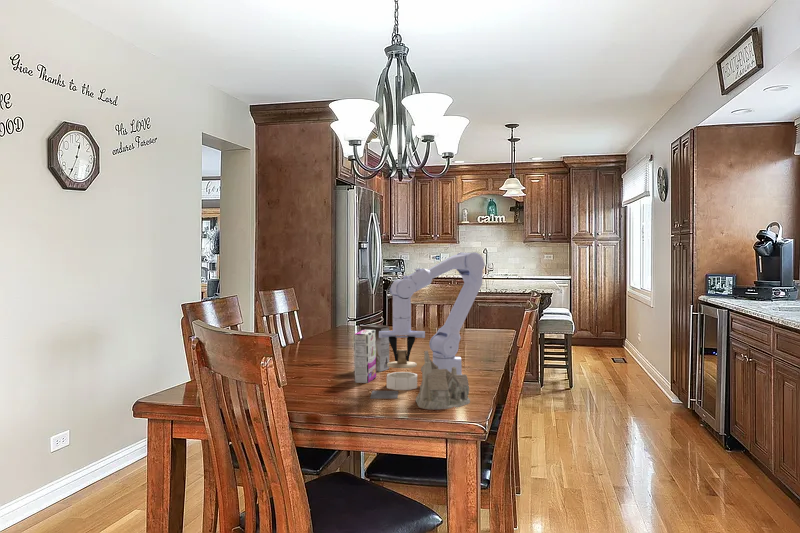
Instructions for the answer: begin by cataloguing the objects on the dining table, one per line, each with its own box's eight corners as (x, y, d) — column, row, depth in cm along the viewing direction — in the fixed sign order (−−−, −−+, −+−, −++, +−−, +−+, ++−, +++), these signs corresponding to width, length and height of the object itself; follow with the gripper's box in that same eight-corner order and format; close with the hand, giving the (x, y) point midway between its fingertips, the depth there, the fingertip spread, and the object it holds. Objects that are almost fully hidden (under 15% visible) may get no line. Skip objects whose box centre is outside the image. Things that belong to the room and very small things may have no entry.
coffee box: (359, 369, 220) (359, 325, 220) (369, 366, 226) (369, 324, 225) (380, 371, 215) (380, 327, 215) (390, 369, 221) (390, 325, 220)
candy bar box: (362, 376, 207) (362, 329, 206) (376, 377, 206) (376, 329, 205) (353, 383, 196) (353, 333, 195) (368, 384, 195) (368, 333, 194)
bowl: (417, 384, 194) (417, 372, 194) (417, 391, 184) (417, 378, 184) (387, 384, 194) (387, 372, 194) (386, 391, 185) (386, 378, 185)
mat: (398, 392, 183) (398, 390, 183) (397, 399, 173) (397, 398, 173) (372, 391, 184) (372, 390, 184) (369, 399, 174) (369, 398, 174)
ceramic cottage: (414, 410, 161) (418, 354, 161) (415, 398, 177) (418, 347, 178) (473, 414, 160) (476, 358, 161) (468, 402, 177) (471, 351, 177)
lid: (417, 363, 193) (417, 349, 193) (415, 368, 184) (415, 352, 184) (389, 363, 194) (388, 348, 194) (385, 367, 185) (385, 352, 185)
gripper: (378, 318, 185) (378, 362, 185) (425, 318, 185) (425, 362, 185) (379, 316, 192) (379, 358, 192) (424, 316, 192) (424, 358, 192)
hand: (401, 360), depth 189 cm, fingers closed on lid, 3 cm apart
